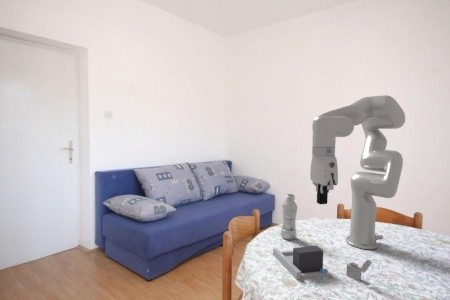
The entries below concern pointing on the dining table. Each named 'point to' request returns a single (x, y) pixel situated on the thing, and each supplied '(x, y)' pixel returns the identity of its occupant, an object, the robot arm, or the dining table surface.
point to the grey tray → (287, 262)
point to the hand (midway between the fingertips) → (322, 203)
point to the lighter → (357, 270)
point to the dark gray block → (308, 258)
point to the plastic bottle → (289, 218)
